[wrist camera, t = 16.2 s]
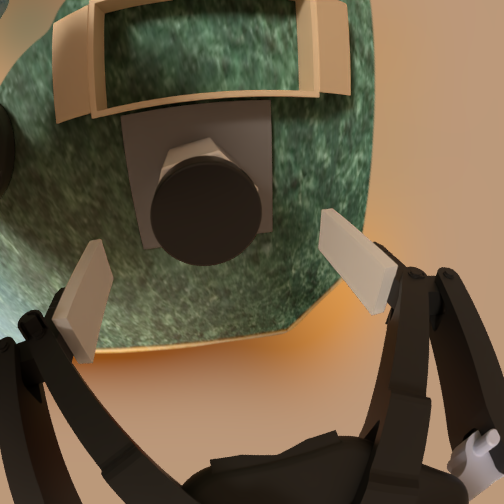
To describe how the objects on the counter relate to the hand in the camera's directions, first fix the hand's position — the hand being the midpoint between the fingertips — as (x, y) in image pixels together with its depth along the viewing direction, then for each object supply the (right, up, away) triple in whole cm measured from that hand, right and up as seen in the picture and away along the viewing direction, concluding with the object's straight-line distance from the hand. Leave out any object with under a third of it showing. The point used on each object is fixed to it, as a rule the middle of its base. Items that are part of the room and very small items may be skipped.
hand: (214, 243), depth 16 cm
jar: (-4, +8, +14) cm, 16 cm away
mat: (-4, +8, +14) cm, 17 cm away
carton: (-3, +21, +7) cm, 22 cm away
